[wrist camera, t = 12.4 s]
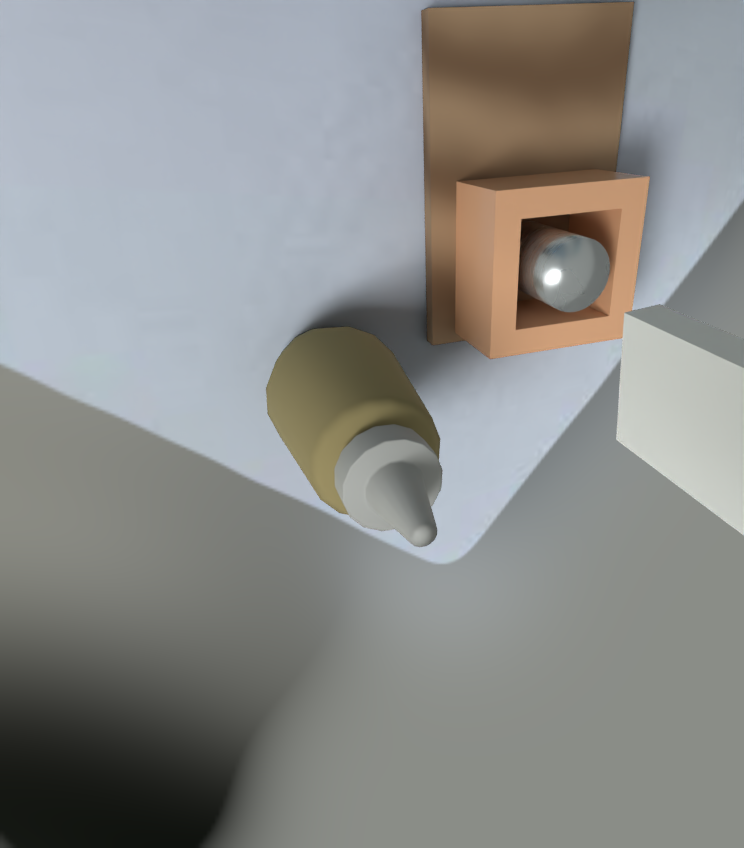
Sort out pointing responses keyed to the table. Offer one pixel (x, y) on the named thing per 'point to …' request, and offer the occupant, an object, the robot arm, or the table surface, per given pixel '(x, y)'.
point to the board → (513, 112)
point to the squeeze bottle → (358, 430)
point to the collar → (500, 247)
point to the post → (561, 267)
